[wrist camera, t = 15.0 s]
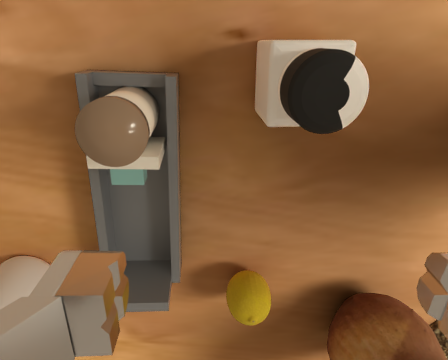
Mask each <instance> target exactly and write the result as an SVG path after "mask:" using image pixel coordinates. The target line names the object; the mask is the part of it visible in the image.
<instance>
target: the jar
mask: <svg viewBox="0 0 448 360" xmlns="http://www.w3.org/2000/svg"><path fill="white" fill-rule="evenodd" d="M159 115H160V111H159V106H158V103H157V101H156V99H155V98H154V96H153V95H152V94H151V93H150V92H149V91H147V90H146V89H144V88H142V87H133V86H124V87H121V88H119V89H117V90H115V91H113V92H112V93H110V94H108V95H106V96H104V97H100V98H98V99H96V100H94V101H92V102H90V103H88V104H87V105H86V106H84V107H83V108H82V110H81V111H80V112H79V114H78V116H77V119H76V123H75V135H76V139H77V142H78V144H79V146H80V148H81V149H82V150H83V152H84V153H85V154H86V155H87V156H88V157H89V158H90V159H92V160H93V161H95V162H97V163H99V164H101V165H104V166H109V167H122V166H126V165H129V164H131V163H133V162H134V161H136V160H137V159H138V158H139V157H140V156H141V155H142V153H143V152H144V150H145V148H146V146H147V144H148V141H149V138H150V136H151V134H152V132H153V131H154V129H155V127H156V125H157V123H158V120H159Z"/></svg>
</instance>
